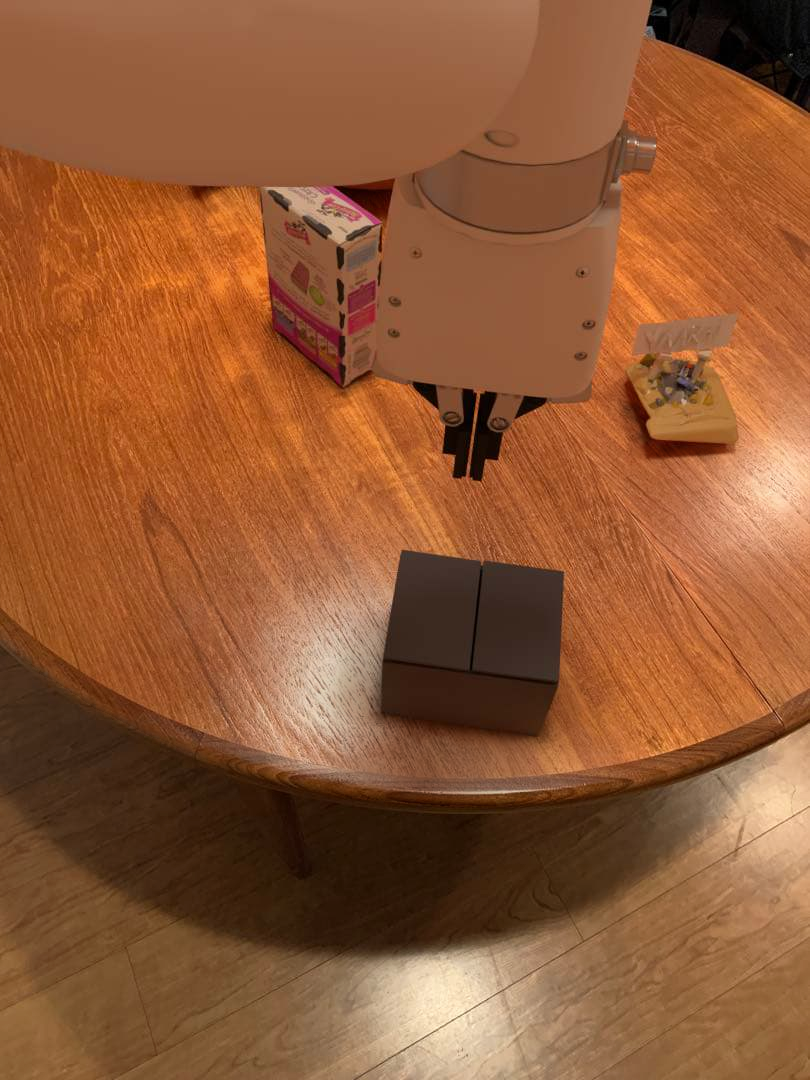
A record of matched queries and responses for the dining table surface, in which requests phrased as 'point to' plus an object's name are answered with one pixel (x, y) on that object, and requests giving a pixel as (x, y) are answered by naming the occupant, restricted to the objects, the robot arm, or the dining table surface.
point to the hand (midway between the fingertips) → (469, 459)
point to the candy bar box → (324, 276)
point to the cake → (684, 380)
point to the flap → (433, 610)
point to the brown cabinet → (492, 659)
